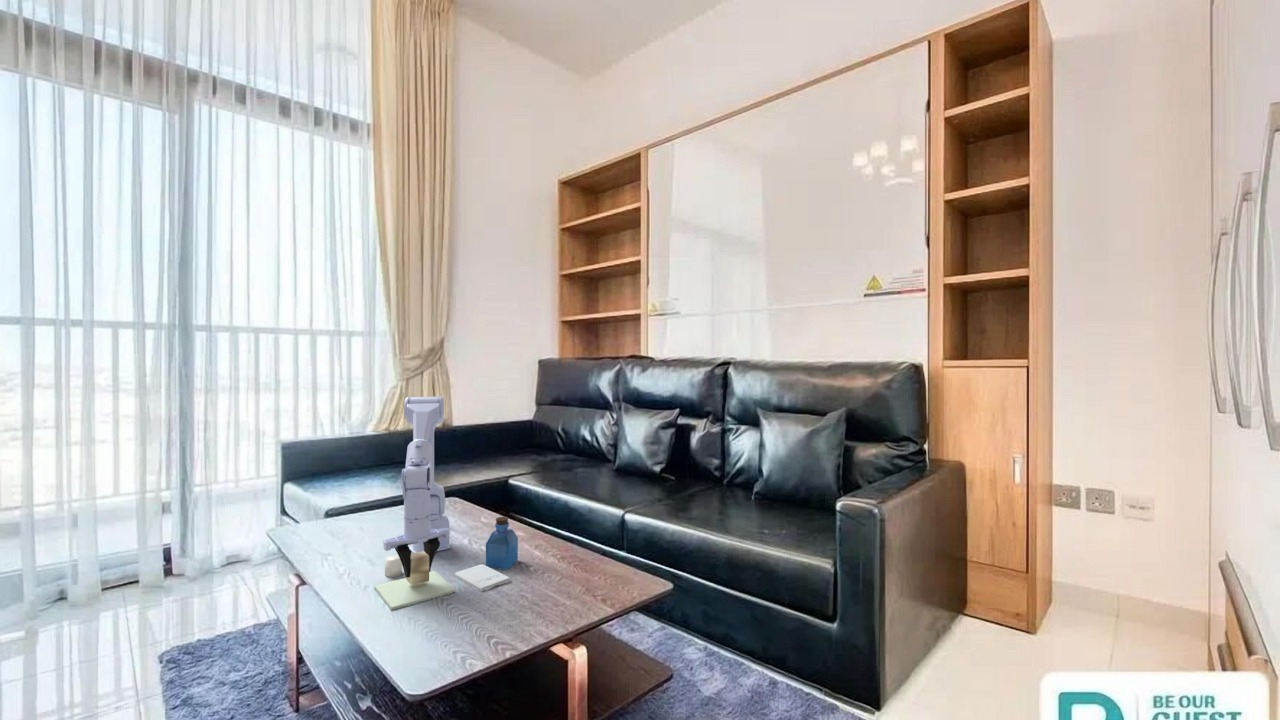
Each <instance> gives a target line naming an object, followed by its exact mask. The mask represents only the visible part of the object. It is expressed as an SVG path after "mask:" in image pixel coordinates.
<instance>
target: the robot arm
mask: <svg viewBox="0 0 1280 720" xmlns="http://www.w3.org/2000/svg"><path fill="white" fill-rule="evenodd" d="M444 400H445V399H444V397H443V396H442V395H440V396H415V397H414V396H413V397H412V396H411V397H410V396H407V397H406V398H405V399H404V403H403V405H404V406H403V414H404V419H405V420H406V422H407V424H408V425H410V426H412V433H413V434H412V436H413V437H412V439H413V440H412V441H410V442H409V444H408V445H407V447H406V448H407V450H406V459H405V466H404V468H402V470H401V478H400V479H401V482H400V483H401V488H402V499H403V515H404V516H403V528H404V529H403V534H401V535H398V536H394V537H391V538H388V539H384V540H383V544H382V545H383V550H384V551H385V552H388V551H390V550H392V549H394V550H395V552H396V554H397V555H399V558H400V560H401V562H402V570H403V573H404V574H403V575H404V576H405V578H406V577H407V578H408V577H410V558H411V554H412V553H416V552H421V551H424V552H425V553H427V554H428V555H429V572H431V569H432V565H433V561H434V559H435V556H436V554H437V552H441V551H445V550H448V549H451V546H450V521H449V518H448V516H447V515H446V514H445V512H446V494H445V489H444V487H443V485H440V484H439V483H437V482H436V481H435V430H436V428H437V426H438V425H441V424H443V421H444V415H445V413H444V412H445V401H444Z"/></svg>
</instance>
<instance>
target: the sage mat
mask: <svg viewBox="0 0 1280 720" xmlns="http://www.w3.org/2000/svg"><path fill="white" fill-rule="evenodd" d="M373 586H374V587H373V589H374V590H375V591H376V593H377V594H378V595H379V596H380V598H381V599H382V600H383V602H384V603H385V604H386V606H387V607H388V608H389V610H390V611H393V610H397V609H401V608H404V606H405V607H408V606H411V604H412V605H415V604H419V603H421V602H420V601H422V602H425V601H424V600H426V601H428V600H427V599H429V600H431V599H430V598H433V599H435V598H434V597H437V596H440V597H443V596H442V595H444V596H446V595H445V594H447V595H450V594H449V593H451V594H453V593H452V592H454V593H456V589H455V588H454V587H453V586H452V585H451V584H450V583H448V582H447V581H446V580H445V579H444V578H443V577H442V576H441V575H440V574H439V573H437V572H436V571H435V570H432V571H431V570H430V572H429V581H427V582H423V583H420V584H416V585H411V584H410V583H409V582H408V581H407V580H406V577H405V578H400V579H396V580H392V581H389V582H384V583H380V584H377V585H373ZM437 598H438V597H437ZM418 602H419V603H418ZM414 603H415V604H414ZM407 605H408V606H407Z"/></svg>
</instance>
